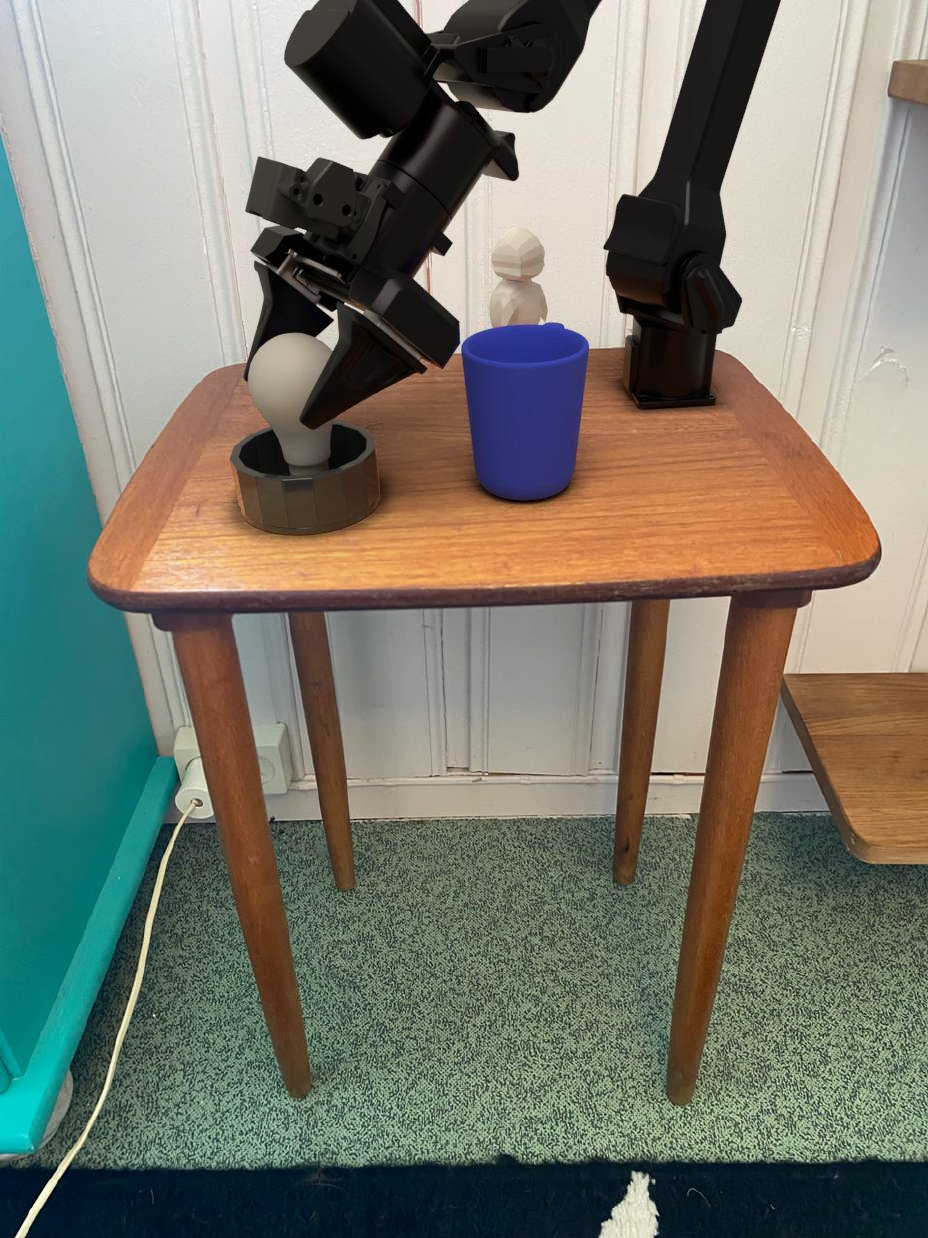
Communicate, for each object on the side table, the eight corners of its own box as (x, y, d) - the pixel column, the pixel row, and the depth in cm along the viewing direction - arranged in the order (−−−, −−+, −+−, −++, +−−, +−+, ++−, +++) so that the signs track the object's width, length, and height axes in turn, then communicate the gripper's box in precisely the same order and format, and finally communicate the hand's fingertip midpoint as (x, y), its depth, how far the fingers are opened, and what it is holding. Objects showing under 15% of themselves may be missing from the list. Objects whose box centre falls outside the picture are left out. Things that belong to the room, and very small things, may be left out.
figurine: (514, 383, 80) (513, 240, 74) (470, 375, 83) (466, 234, 76) (559, 357, 86) (562, 220, 79) (517, 349, 88) (516, 216, 81)
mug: (605, 445, 69) (613, 311, 63) (567, 518, 60) (572, 369, 54) (502, 434, 71) (500, 304, 66) (450, 503, 62) (442, 358, 56)
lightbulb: (319, 467, 67) (298, 314, 60) (375, 491, 63) (359, 331, 57) (250, 496, 63) (220, 338, 57) (305, 523, 59) (280, 357, 53)
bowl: (381, 467, 67) (376, 415, 65) (379, 530, 59) (373, 474, 57) (250, 475, 67) (241, 423, 65) (231, 539, 59) (220, 483, 57)
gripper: (255, 87, 58) (124, 297, 59) (398, 107, 45) (225, 375, 46) (377, 205, 66) (258, 387, 67) (529, 251, 52) (377, 476, 54)
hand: (275, 403), depth 58 cm, fingers open, 9 cm apart
